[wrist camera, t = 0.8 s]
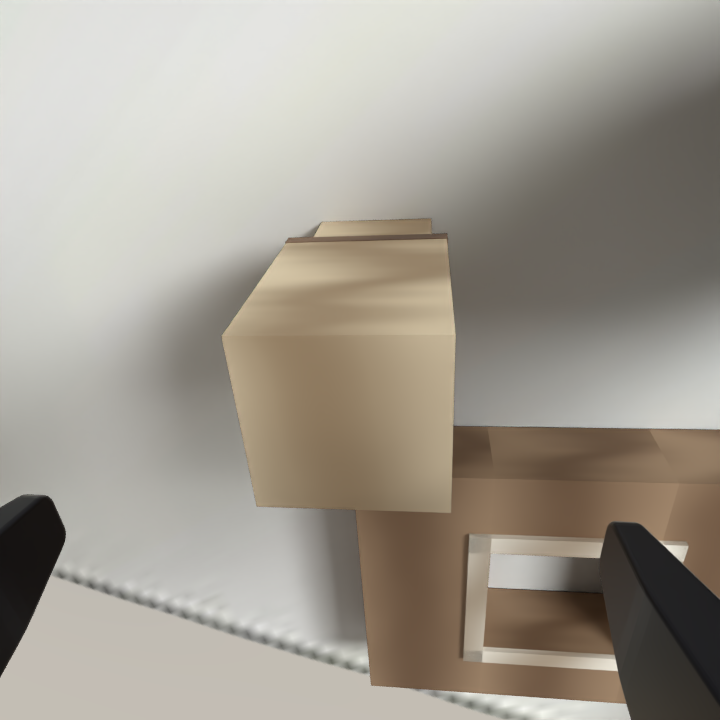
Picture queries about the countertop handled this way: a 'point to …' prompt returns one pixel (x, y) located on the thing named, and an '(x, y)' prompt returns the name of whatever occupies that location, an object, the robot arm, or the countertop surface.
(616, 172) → the countertop surface
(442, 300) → the peg
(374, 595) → the board
